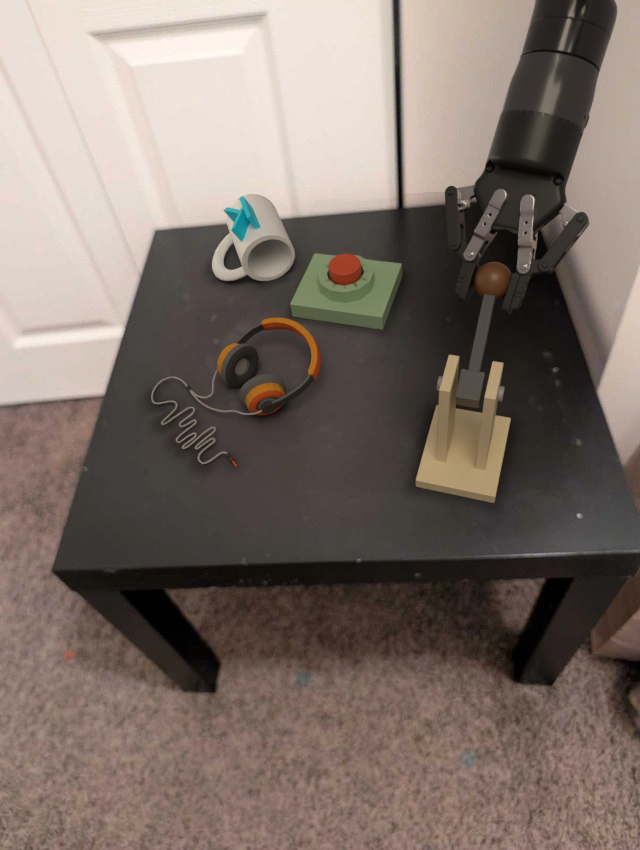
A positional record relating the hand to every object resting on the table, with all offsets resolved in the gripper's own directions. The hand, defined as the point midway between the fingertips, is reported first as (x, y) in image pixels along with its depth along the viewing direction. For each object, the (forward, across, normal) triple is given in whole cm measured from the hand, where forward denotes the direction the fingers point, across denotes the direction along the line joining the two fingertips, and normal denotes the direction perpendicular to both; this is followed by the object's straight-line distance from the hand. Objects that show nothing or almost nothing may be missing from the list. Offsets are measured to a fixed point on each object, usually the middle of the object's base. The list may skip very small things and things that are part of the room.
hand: (484, 306), depth 64 cm
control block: (+3, -21, +16) cm, 26 cm away
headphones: (+17, -24, +2) cm, 30 cm away
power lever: (+3, +1, 0) cm, 3 cm away
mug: (+2, -37, +17) cm, 41 cm away
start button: (+1, -21, +13) cm, 25 cm away
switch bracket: (+15, +2, +3) cm, 16 cm away
